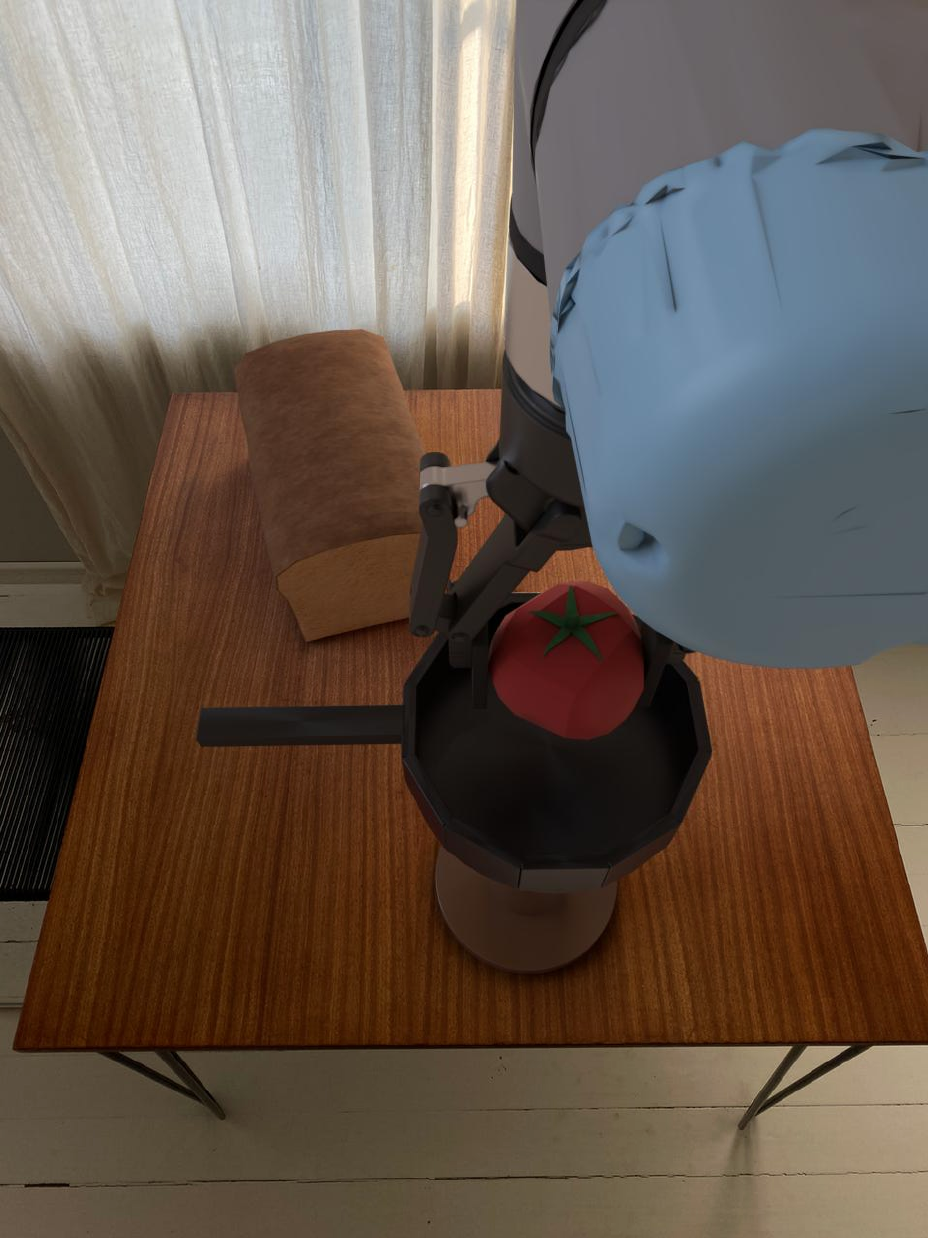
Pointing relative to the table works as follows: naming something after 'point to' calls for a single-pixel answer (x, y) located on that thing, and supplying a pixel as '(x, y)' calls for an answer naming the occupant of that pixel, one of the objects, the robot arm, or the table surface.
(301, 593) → the bread
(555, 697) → the tomato
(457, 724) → the pan
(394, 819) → the table surface
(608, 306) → the robot arm
